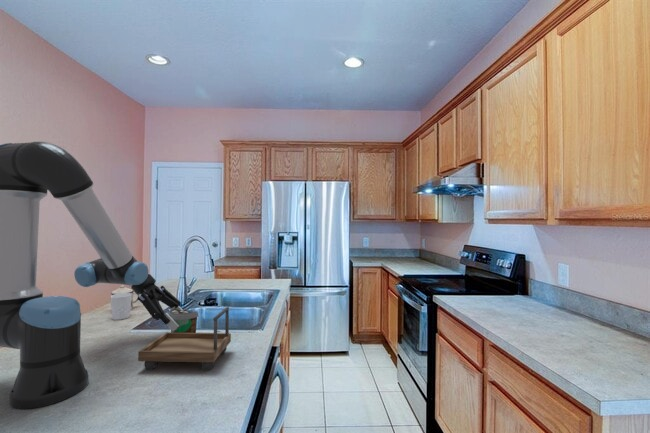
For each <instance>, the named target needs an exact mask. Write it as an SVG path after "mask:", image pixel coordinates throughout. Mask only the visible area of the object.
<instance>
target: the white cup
mask: <svg viewBox="0 0 650 433" xmlns="http://www.w3.org/2000/svg"><path fill="white" fill-rule="evenodd" d="M131 297H132V294H131V293H119V294H114V295H110V309H111V310H110V311H111V319H112V320H114V321H115V320H117V321H118V320H121V321H122V320H125V319H128V318H130V317H131Z"/></svg>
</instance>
